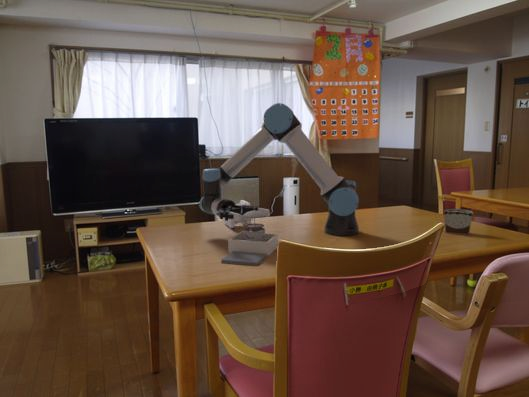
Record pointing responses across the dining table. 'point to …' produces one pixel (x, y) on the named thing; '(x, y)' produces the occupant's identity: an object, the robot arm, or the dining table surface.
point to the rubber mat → (244, 258)
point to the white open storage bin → (253, 244)
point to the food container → (458, 221)
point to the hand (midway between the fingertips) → (254, 215)
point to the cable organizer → (242, 218)
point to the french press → (254, 225)
